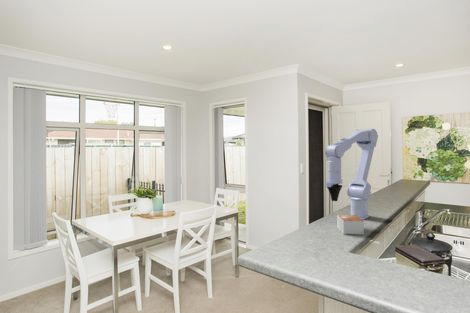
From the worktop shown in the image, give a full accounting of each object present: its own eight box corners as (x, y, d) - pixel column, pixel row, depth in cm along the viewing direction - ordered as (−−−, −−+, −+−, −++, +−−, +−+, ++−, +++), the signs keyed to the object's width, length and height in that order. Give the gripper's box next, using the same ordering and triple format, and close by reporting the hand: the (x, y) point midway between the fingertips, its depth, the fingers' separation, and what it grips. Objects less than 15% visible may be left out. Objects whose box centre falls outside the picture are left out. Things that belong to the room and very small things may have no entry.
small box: (355, 214, 125) (364, 220, 114) (355, 227, 125) (364, 234, 114) (336, 214, 125) (343, 220, 115) (336, 227, 126) (343, 234, 115)
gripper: (332, 169, 139) (332, 197, 140) (319, 172, 128) (319, 202, 129) (346, 170, 135) (346, 199, 135) (335, 173, 124) (335, 204, 124)
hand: (334, 200), depth 132 cm, fingers closed
